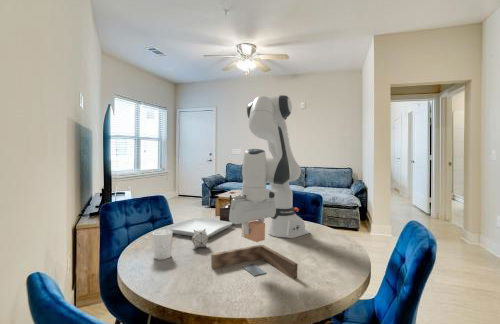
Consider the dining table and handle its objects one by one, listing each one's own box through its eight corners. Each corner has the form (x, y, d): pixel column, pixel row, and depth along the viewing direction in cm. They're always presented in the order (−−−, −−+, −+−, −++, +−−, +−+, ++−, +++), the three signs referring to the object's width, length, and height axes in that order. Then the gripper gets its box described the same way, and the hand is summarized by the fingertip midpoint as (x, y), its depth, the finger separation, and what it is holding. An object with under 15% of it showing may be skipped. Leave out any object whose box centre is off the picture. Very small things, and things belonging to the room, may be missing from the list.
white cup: (176, 254, 115) (176, 230, 115) (164, 261, 108) (164, 236, 108) (160, 252, 118) (160, 228, 118) (148, 258, 110) (148, 233, 110)
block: (264, 239, 99) (265, 223, 99) (256, 242, 96) (256, 225, 96) (249, 234, 105) (250, 218, 104) (241, 236, 102) (241, 220, 102)
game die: (202, 257, 123) (204, 243, 117) (185, 248, 124) (187, 235, 118) (211, 242, 130) (214, 228, 124) (195, 234, 131) (197, 220, 125)
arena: (262, 256, 114) (262, 244, 114) (297, 278, 95) (297, 263, 95) (211, 267, 103) (211, 253, 103) (239, 294, 84) (239, 278, 83)
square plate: (234, 228, 157) (234, 221, 157) (207, 242, 132) (207, 234, 132) (194, 222, 168) (194, 216, 168) (162, 234, 143) (162, 227, 143)
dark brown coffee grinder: (218, 223, 165) (218, 193, 164) (225, 219, 176) (225, 191, 175) (243, 225, 161) (243, 195, 160) (248, 221, 171) (249, 192, 171)
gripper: (237, 198, 90) (236, 239, 91) (279, 192, 104) (278, 229, 105) (225, 195, 95) (224, 235, 96) (267, 190, 109) (266, 225, 109)
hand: (253, 232), depth 100 cm, fingers closed on block, 4 cm apart
